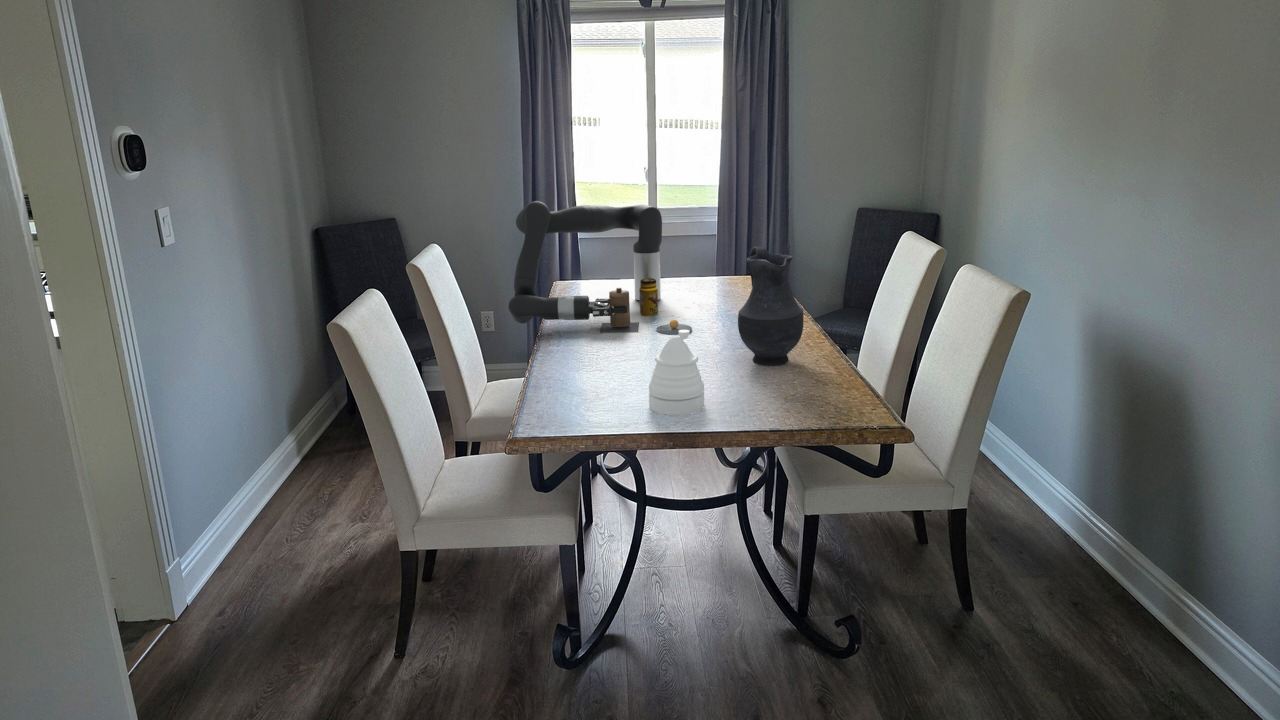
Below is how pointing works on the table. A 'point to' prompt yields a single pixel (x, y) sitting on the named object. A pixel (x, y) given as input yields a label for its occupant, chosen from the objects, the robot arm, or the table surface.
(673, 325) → the ball
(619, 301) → the canister
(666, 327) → the grey round disc
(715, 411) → the table surface
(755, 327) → the pitcher
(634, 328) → the mat
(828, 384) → the table surface
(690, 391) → the honey pot
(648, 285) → the condiment
